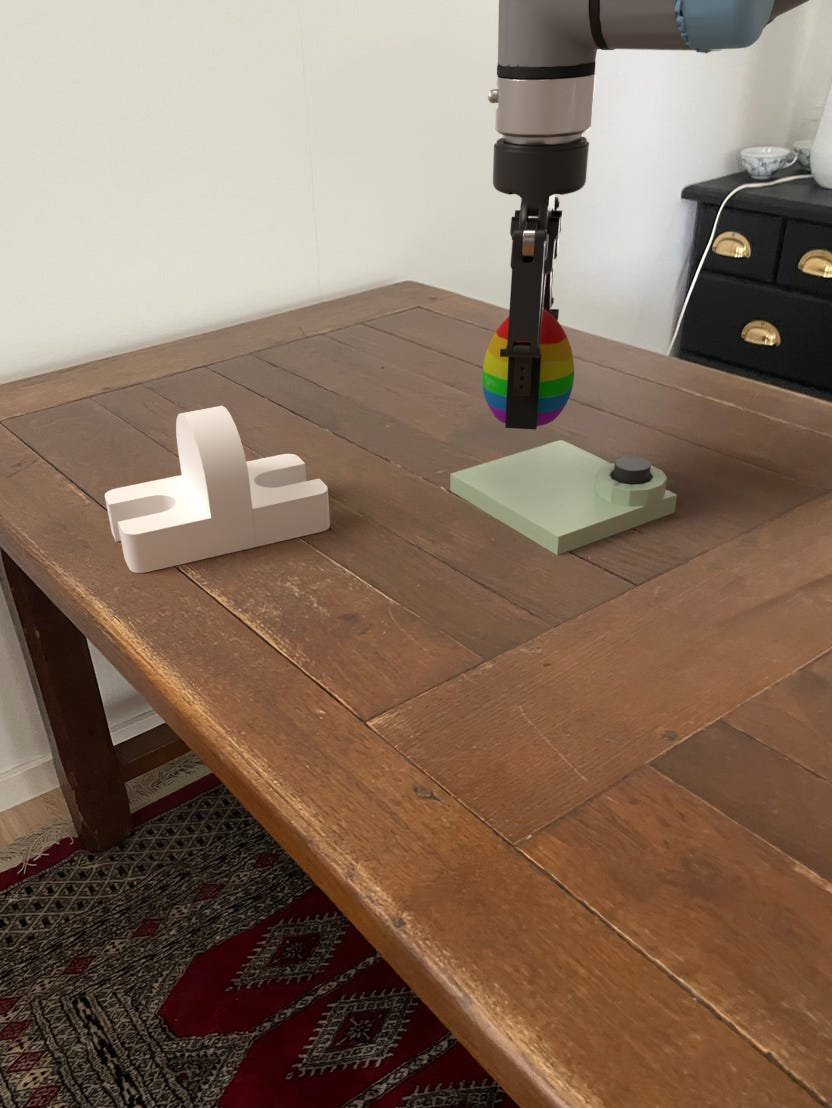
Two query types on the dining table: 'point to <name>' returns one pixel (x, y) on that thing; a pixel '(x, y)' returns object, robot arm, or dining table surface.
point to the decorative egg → (552, 373)
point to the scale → (562, 495)
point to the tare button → (631, 470)
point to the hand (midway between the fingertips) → (526, 408)
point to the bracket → (214, 500)
